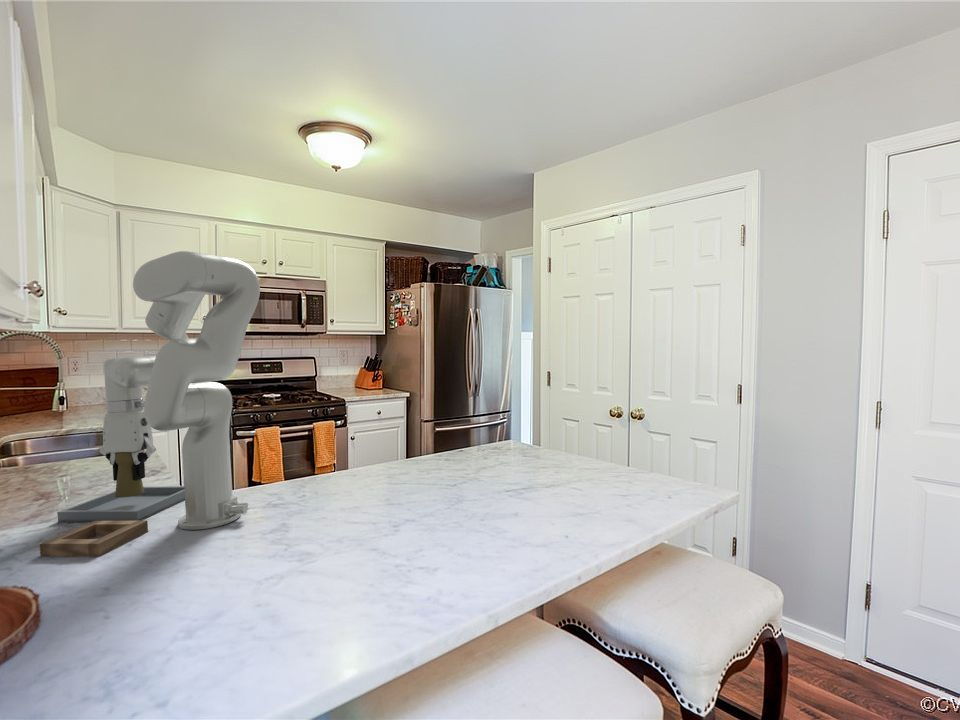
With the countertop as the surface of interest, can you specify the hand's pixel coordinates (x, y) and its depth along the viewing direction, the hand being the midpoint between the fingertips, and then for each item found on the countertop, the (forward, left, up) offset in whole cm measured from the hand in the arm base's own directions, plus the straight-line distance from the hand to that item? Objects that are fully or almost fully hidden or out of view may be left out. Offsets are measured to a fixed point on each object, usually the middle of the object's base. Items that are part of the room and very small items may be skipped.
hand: (129, 478), depth 125 cm
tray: (0, 0, -7) cm, 7 cm away
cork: (0, 0, -4) cm, 4 cm away
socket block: (-11, +22, -7) cm, 26 cm away
